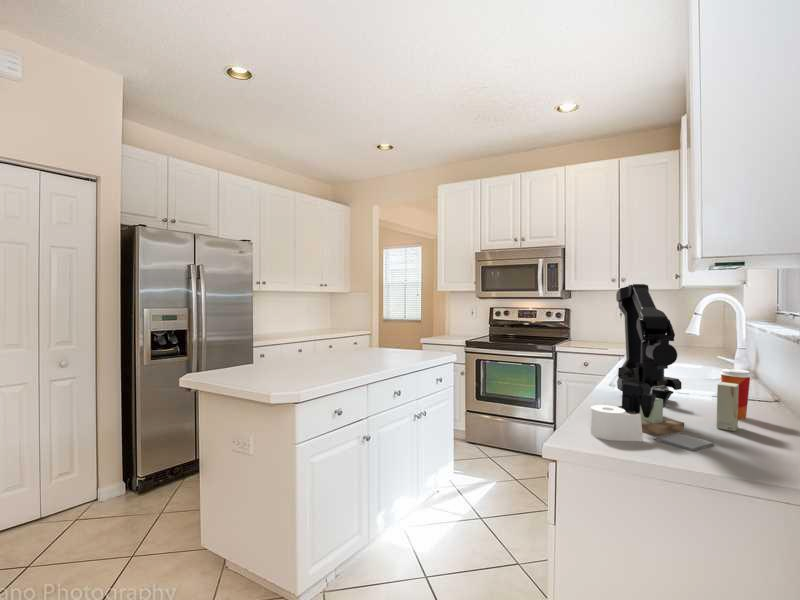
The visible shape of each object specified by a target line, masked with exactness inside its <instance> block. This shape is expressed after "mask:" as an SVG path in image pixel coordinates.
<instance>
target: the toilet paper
mask: <svg viewBox="0 0 800 600" xmlns="http://www.w3.org/2000/svg"><path fill="white" fill-rule="evenodd" d="M589 422H590V423H589V424H590V426H589V427H590V428H589V429H590V430H589V434H590V435H591V436H593V437H595V438H597V439H601V440H607V441H618V442H619V441H623V442H625V441H627V442H643V441H644V437H643V431H642V424H641V415H634V414H629V413H626V410H624V409H622V408H619V407H618V406H615V405H606V404H596V405H592V406H590V420H589Z"/></svg>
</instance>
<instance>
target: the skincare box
mask: <svg viewBox="0 0 800 600" xmlns="http://www.w3.org/2000/svg"><path fill="white" fill-rule="evenodd" d="M716 389H717V395H716V428H717V429H720V430H726V431H731V432H736V431H737V429H738V427H739V419H738V394H739V384H734V383H726V382H719V383H718V384H717V388H716Z"/></svg>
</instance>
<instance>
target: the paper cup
mask: <svg viewBox="0 0 800 600" xmlns="http://www.w3.org/2000/svg"><path fill="white" fill-rule="evenodd" d="M719 374H720V379H721V382H726V383H734V384H739V394H738V420H745V419H746V418H747V410H748V402H749V391H750V381H751V378H752V375H751V373H750V371H748V370H743V369H736V368H735V369H733V368H723V369H721V371H720V373H719Z"/></svg>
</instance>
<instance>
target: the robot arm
mask: <svg viewBox="0 0 800 600" xmlns="http://www.w3.org/2000/svg"><path fill="white" fill-rule="evenodd" d="M649 289H650V288H649V285H648V284H645V283H631V284H629V285H628V286H625V287H621V288H619V289H617V291H616V296H615V297H616V302H618V308H619V310H620V312H621V313H622V314H623V315H624V334H625V335H624V336H625V357H626V358H625V361H624V363H623V365H621V367H618V371H617V381H616V387H617V389H618V390H619V391H621V392H622V393H621V394H622V395H621V405H620V406H617V407H619V408H622V409H624V410H625V411H628V412H631V413H635V414H639V413H640V406H641V409H642V412H643V415H644V417H646V418H649V416H650V413H651V410H652V407H653V404H654V401H655V398H659V399H663V408H664V406H665V404H666V403H667V402H668V400H669V399H670V397H671V396H672V394H674V390H675V391H678V390H682V382H681V380H680V379H679V378H676V377H670V376H665V369H669V368H668V366H671V365H673V364H674V363H675V362H676V361H677V359H678V352H677V349H676V348H675V347H674V346H673V345H672V344H670V342H675V335H676V334H675V330H674V328H673V325H672V323H671V320H670V319H669V318H668V316H667V315H666V314H665V312H664V311H662V310H660V309H658V308H657V306H656V304H655V302H654V300H653V298H652V295H651V294H650V292H649ZM667 387H668V388H667ZM669 388H672V389H673V390H670V389H669ZM668 389H669V390H668Z"/></svg>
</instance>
